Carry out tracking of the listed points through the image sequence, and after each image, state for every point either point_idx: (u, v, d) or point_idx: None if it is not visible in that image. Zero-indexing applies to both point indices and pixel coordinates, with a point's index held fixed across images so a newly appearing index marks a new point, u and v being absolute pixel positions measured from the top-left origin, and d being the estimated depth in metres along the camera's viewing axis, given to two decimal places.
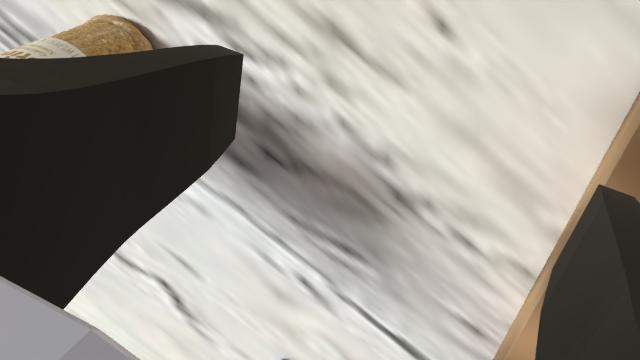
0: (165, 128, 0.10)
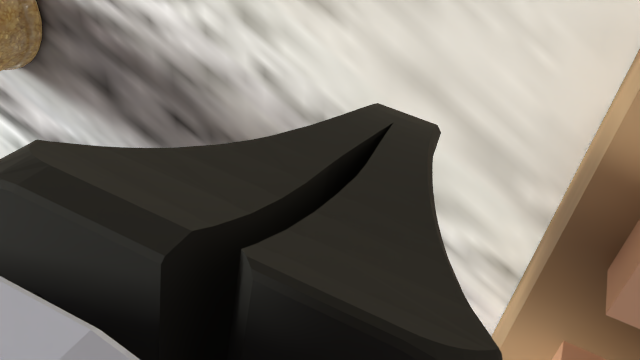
0: None
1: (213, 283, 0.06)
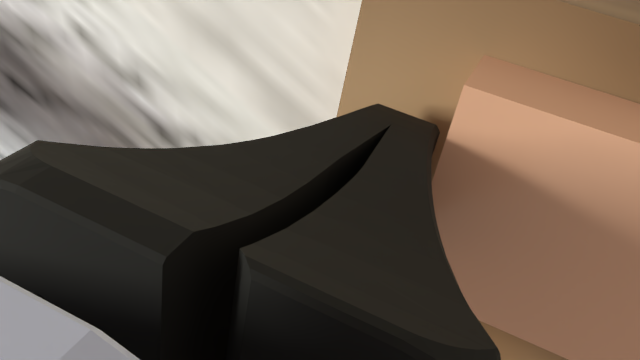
0: None
1: (214, 283, 0.06)
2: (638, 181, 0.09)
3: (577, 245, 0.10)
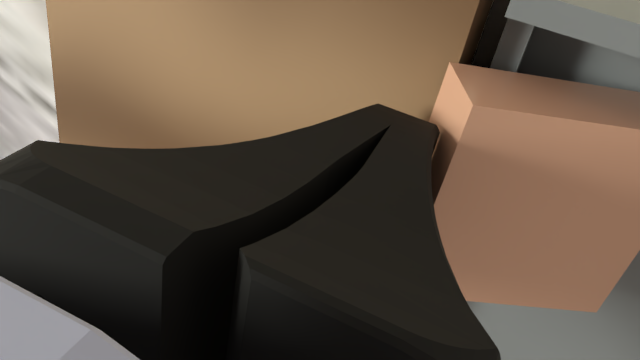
0: None
1: (214, 283, 0.06)
2: (618, 156, 0.10)
3: (567, 218, 0.11)
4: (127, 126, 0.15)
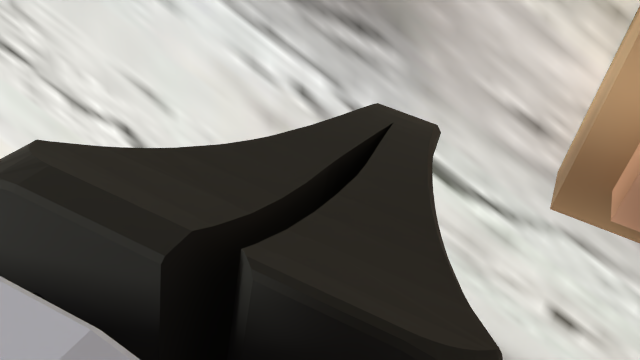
0: None
1: (213, 283, 0.06)
2: None
3: None
4: None
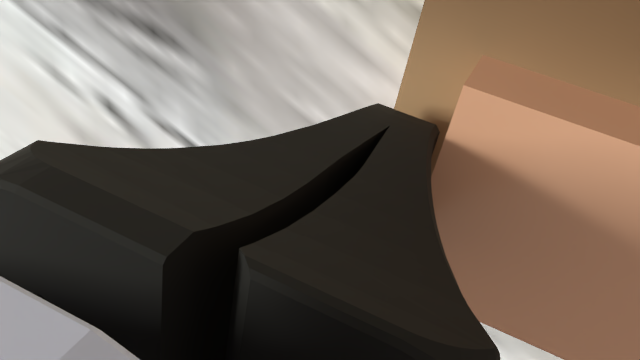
0: None
1: (214, 283, 0.06)
2: None
3: None
4: None
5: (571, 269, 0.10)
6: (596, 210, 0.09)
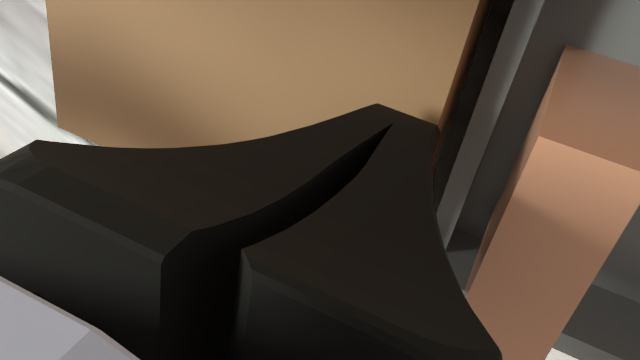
0: None
1: (213, 283, 0.06)
2: None
3: None
4: None
5: None
6: None
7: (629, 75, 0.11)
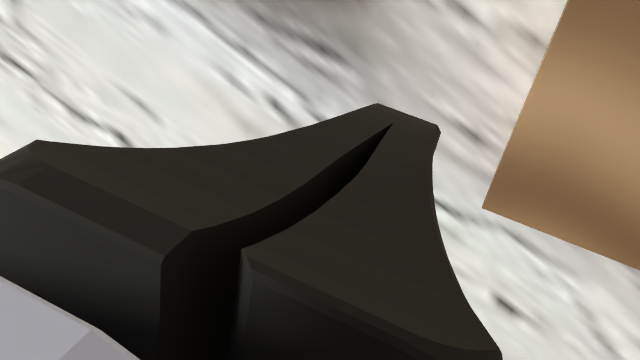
0: None
1: (213, 283, 0.06)
2: None
3: None
4: None
5: None
6: None
7: None
